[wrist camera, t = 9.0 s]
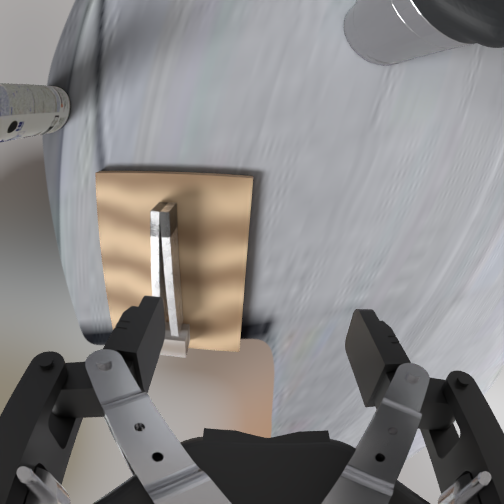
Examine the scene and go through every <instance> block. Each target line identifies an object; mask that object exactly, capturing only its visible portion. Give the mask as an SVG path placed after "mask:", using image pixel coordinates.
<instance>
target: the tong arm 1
mask: <svg viewBox="0 0 504 504" xmlns="http://www.w3.org/2000/svg"><path fill="white" fill-rule="evenodd" d="M167 203H168V202H159V203H158V204H157V205H156V206H155V207H154V208H153V209H152V210H151V211H150V236H151V281H152V296H156V297H162V298H163V304H164V317H165V324H166V321H167V318H168V315H167V295H166V285H165V275H164V263H163V250H162V237H161V227H160V211H161V210H162V209H163V208H164V207H165V205H166V204H167Z"/></svg>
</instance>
